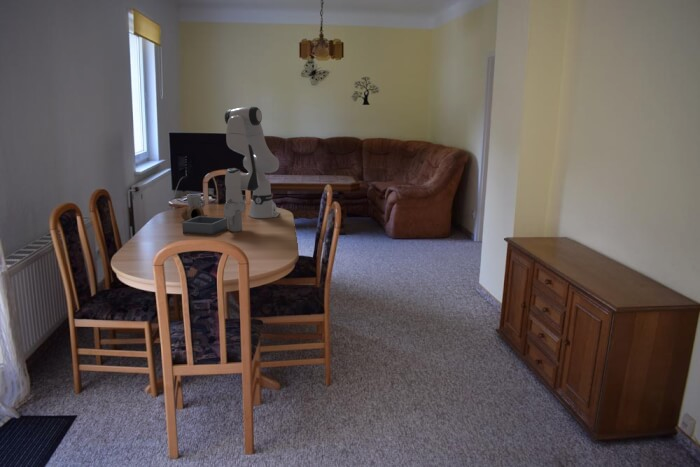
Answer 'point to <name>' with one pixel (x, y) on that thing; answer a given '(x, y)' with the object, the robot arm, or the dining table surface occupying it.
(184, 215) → the clay pipe
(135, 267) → the dining table surface
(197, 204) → the cup
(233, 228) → the can
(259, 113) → the robot arm
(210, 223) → the bin
